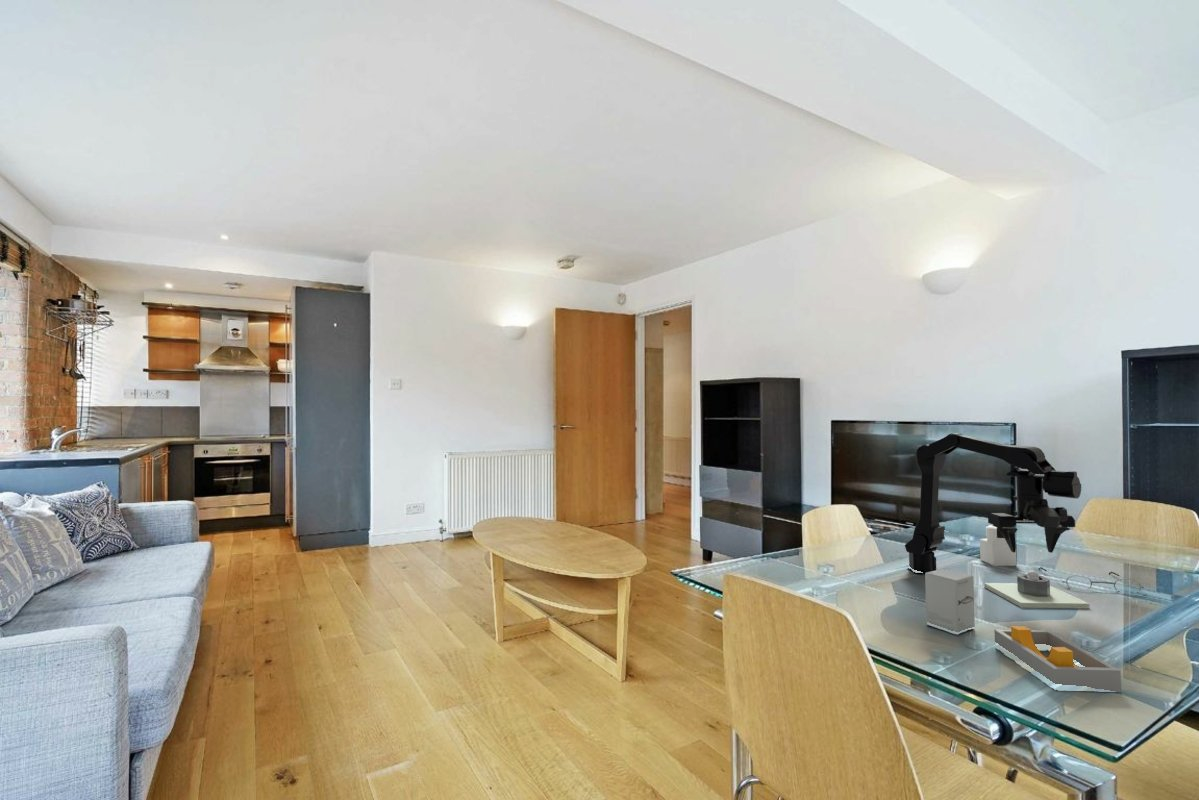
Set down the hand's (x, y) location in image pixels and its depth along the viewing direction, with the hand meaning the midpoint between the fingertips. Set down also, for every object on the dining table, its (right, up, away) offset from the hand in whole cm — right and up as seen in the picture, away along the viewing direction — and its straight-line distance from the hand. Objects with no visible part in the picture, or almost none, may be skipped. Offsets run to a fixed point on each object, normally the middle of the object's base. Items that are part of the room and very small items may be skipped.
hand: (1031, 552), depth 149 cm
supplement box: (-34, -13, -19) cm, 41 cm away
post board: (0, -12, 0) cm, 12 cm away
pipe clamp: (-29, -12, -40) cm, 51 cm away
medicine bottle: (+14, -12, +31) cm, 36 cm away
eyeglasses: (+26, -12, +12) cm, 31 cm away
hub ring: (0, -11, 0) cm, 11 cm away
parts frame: (-27, -12, -40) cm, 50 cm away
